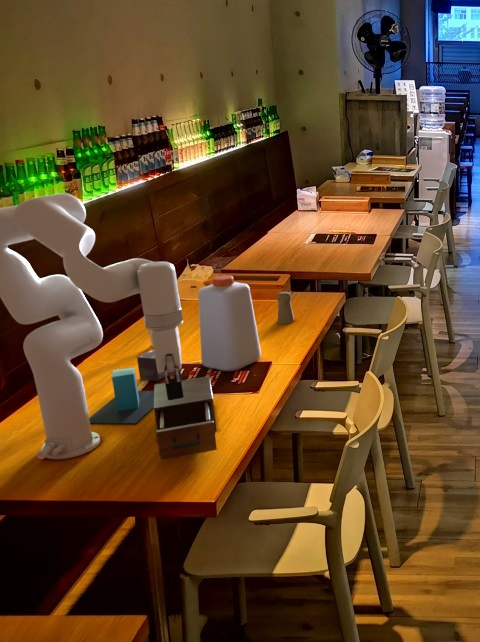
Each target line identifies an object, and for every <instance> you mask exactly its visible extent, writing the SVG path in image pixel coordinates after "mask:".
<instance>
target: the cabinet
mask: <svg viewBox="0 0 480 642" xmlns="http://www.w3.org/2000/svg"><path fill="white" fill-rule="evenodd" d="M211 382H212V381H211V377H210V375H208V376H201V377H195V378H189V379H182V389H183V395H184V397H183V398H180V399H174V400H168V398H167V391H166V385H165V383H166V382H163V383H156V384H154V389H153V391H154V409H153V412H154V420H155V425H156V430H160V410H164V409H170V408H176V407H182V406H188V405H194V404H200V403H206V402H208V408H209V416H210V421H212V420H213V422H214V431H215V432H217V431H218V430H217V421H216V420H217V419H216V411H215V404H214V397H213V390H212V383H211Z"/></svg>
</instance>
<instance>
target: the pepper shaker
mask: <svg viewBox="0 0 480 642" xmlns="http://www.w3.org/2000/svg"><path fill="white" fill-rule="evenodd" d="M291 300H292V295H291V292H288V291H281V292H279V293H277V294H276V301H277V302H278V303H277V305H278V307H277V323H278V324H281V325H285V324H286V325H287V324H291V323H294V322H295V316H294V313H293V308H292V302H291Z"/></svg>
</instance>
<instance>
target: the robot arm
mask: <svg viewBox="0 0 480 642" xmlns="http://www.w3.org/2000/svg"><path fill="white" fill-rule="evenodd" d="M86 217H87V212H86V208H85V206H84V204H83V203H82V201H81V200H80V199H79V198H77V197H76V196H75V195H73V194H69V193H66V192H65V193H63V192H62V193H61V192H60V193H54V194H49V195H44V196H37V197H32V198H29V199H27V200H24V201H23V202H21V203H19V204H16V205H11V206H5V207H4V206H3V207H0V299H1V301H2V303H3V304H4V306H5V308H6V309H7V311H8V312H9V314H10V316H11V317H12V319H14V320H15V321H16V322H17V323H18V324H20V325H32V324H36V323H39V322H42V321H45V320H48V319H50V318H53V317H57V316H58V318H59V320H56V321H53V322H50V323H47V324H44V325H42V326H40V327H38V328H35V329H34V330H33V331H31V332H30V333H28V334H27V335H26V337H25V338H24V341H23V344H22V346H23V351H24V356H25V358H26V360H27V362H28V364H29V367H30V369H31V372H32V374H33V379H34V383H35V387H36V392H37V393H36V394H37V398H38V402H39V408H40V413H41V418H42V423H43V428H44V434H45V435H44V436H45V439H44V444H42V446H41V447H40V450H39V451H38V452H37V453H36V458H37V459H39V460H43V459H49V460H66V459H72V458H74V457H79V456H82V455H85V454H86V453H89V452H91V451H92V450H94V449H95V448H97V447H98V445H99V444H100V443H101V437H100V434H98V433H97V432H95V431H92V427H91V424H90V420H89V418H90V415H89V408H88V403H87V396H86V391H85V385H84V381H83V376H82V373H81V372H80V370H79V369H78V368H76V367H75V366H74V364H72V362H71V360H72V359H74V358H76V357H78V356H81V355H83V354H85V353H87V352H88V353H89V352H90V351H92V350H94V349H96V348H97V347H98V346H100V345H101V343H102V341H103V337H104V332H103V328H102V324H101V323H100V321H99V319H98V317H97V316H96V314H95V312H94V310H93V308H92V307H91V305H90V303H89V301H88V300H87V298H86V297H85V294H86V295H88V296H90V297H91V298H93V299H95V300H97V301H99V302H102V303H114V302H118V301H121V300H123V299H126V298H129V297H132V296H134V295H138V294H139V295H140V300H141V307H142V313H143V320H144V319H145V322H144V324H145V328H146V330H147V329H149V330H152V339H153V346H154V347H153V346H152V347H153V351H154V352H155V358H156V365H157V371H158V373H159V374H161V372H165V377H164V378H165V382H164V383H165V385H166V391H167V398H168V400H174V399H180V398H183V397H184V395H183V389H182V380H183V378H182V371H181V369H182V348H181V339H180V332H179V326H181V325H183V323H184V318H183V312H182V306H181V305H182V304H181V299H180V293H179V286H178V277H177V273H176V268H175V266H174V264H173V263H171V262H168V261H152V260H148V259H145V258H139V257H138V258H135V257H134V258H131V259H128V260H125V261H124V260H123V261H120V262H117V263H114V264H110V265H107V266H105V267H102V266H100V265H98V264H96V263H95V262H93V261H92V260H90V259H89V258H88V257H87V255H88V254H90V252H91V251H92V249H93V247H94V245H95V242H96V233H95V231H94V229H92V228H90V226H88V225H86V224H84V223H85V220H86ZM32 240H36V241H37V242H39V243H40V244H41V245H43V246H45V247H46V248H48V249H49V250H51V251H52V252H54V253H55V254H57V255H58V256H59V257H61V258H62V263H63V268H64V271H65V273H66V275H67V276H66V275H64V274H52V275H48V276H45V277H41V278H40V277H39V276H38V275H37V273H36V272H35V271H34V269H33V268H32V266H31V264H30V263H29V261H28V260H27V259H26V258H25V257H23V256H22V254H19V253H18V252H17V251H14V250H12V249H10V248H9V245H14V244H19V243H23V242H27V241H32ZM84 293H85V294H84Z"/></svg>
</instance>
